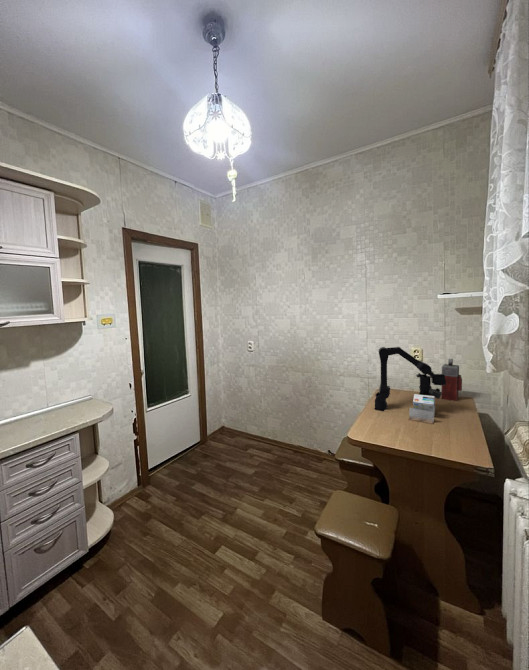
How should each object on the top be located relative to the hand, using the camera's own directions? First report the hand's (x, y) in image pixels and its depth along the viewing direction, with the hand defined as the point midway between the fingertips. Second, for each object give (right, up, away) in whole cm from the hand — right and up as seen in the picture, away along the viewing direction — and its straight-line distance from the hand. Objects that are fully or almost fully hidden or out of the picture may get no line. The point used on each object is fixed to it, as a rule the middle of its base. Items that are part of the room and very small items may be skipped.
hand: (425, 409), depth 172 cm
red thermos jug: (+31, +1, +21) cm, 37 cm away
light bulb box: (-3, 0, -4) cm, 5 cm away
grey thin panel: (-10, -3, -13) cm, 17 cm away
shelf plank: (-11, -3, -14) cm, 18 cm away
